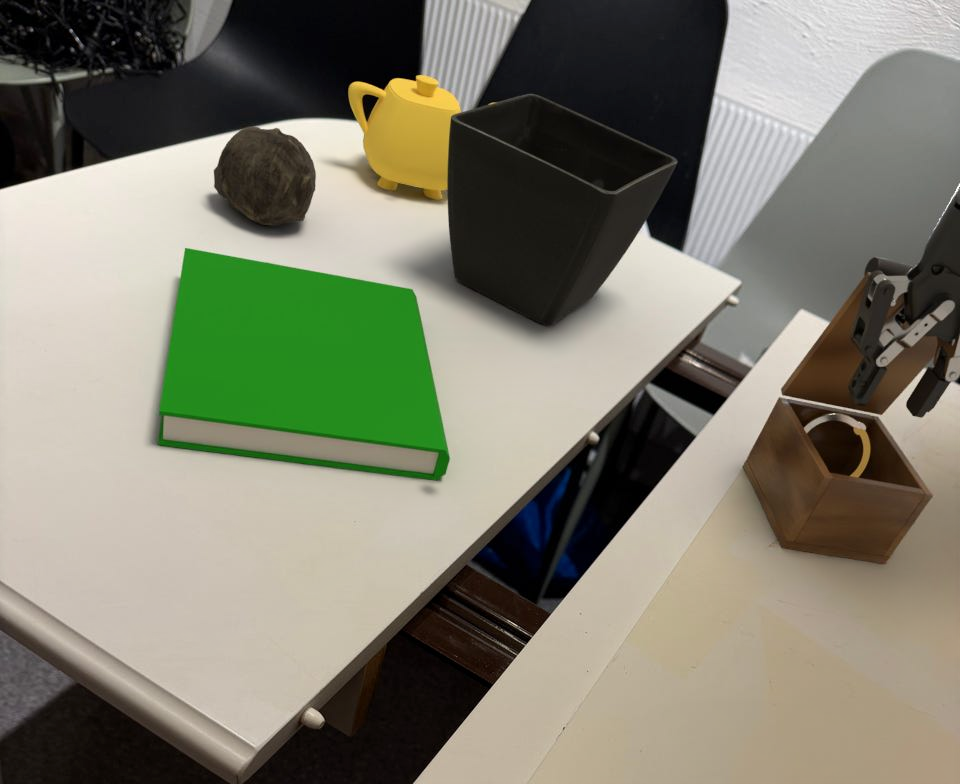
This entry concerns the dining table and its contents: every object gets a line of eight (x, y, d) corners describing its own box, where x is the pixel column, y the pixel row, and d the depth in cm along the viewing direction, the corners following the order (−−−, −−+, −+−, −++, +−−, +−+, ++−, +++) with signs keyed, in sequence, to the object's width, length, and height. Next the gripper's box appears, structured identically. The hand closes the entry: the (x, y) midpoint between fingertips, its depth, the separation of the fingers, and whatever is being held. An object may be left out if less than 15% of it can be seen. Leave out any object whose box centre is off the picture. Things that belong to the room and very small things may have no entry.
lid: (981, 304, 80) (963, 259, 83) (869, 278, 78) (855, 232, 81) (881, 415, 91) (869, 372, 94) (781, 395, 89) (771, 351, 92)
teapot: (494, 218, 125) (521, 116, 117) (340, 187, 119) (356, 77, 111) (478, 178, 134) (502, 81, 126) (334, 148, 129) (349, 43, 120)
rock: (228, 175, 111) (244, 88, 104) (319, 220, 112) (341, 137, 105) (190, 211, 104) (204, 121, 97) (287, 258, 106) (308, 173, 98)
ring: (835, 394, 90) (766, 452, 93) (844, 397, 87) (772, 457, 90) (880, 450, 92) (811, 506, 94) (891, 454, 89) (819, 512, 91)
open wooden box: (885, 564, 88) (933, 495, 83) (782, 547, 86) (824, 476, 81) (837, 482, 97) (878, 416, 92) (742, 465, 95) (778, 396, 90)
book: (157, 444, 74) (159, 411, 72) (183, 278, 93) (185, 247, 91) (443, 481, 80) (452, 450, 78) (411, 317, 99) (417, 290, 97)
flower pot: (560, 351, 103) (614, 190, 91) (412, 275, 106) (447, 112, 95) (626, 304, 116) (681, 159, 105) (493, 238, 120) (532, 92, 109)
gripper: (1060, 209, 76) (937, 398, 87) (902, 166, 72) (795, 369, 84) (1113, 249, 70) (975, 445, 82) (945, 205, 67) (825, 416, 78)
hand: (884, 405), depth 83 cm, fingers open, 5 cm apart
